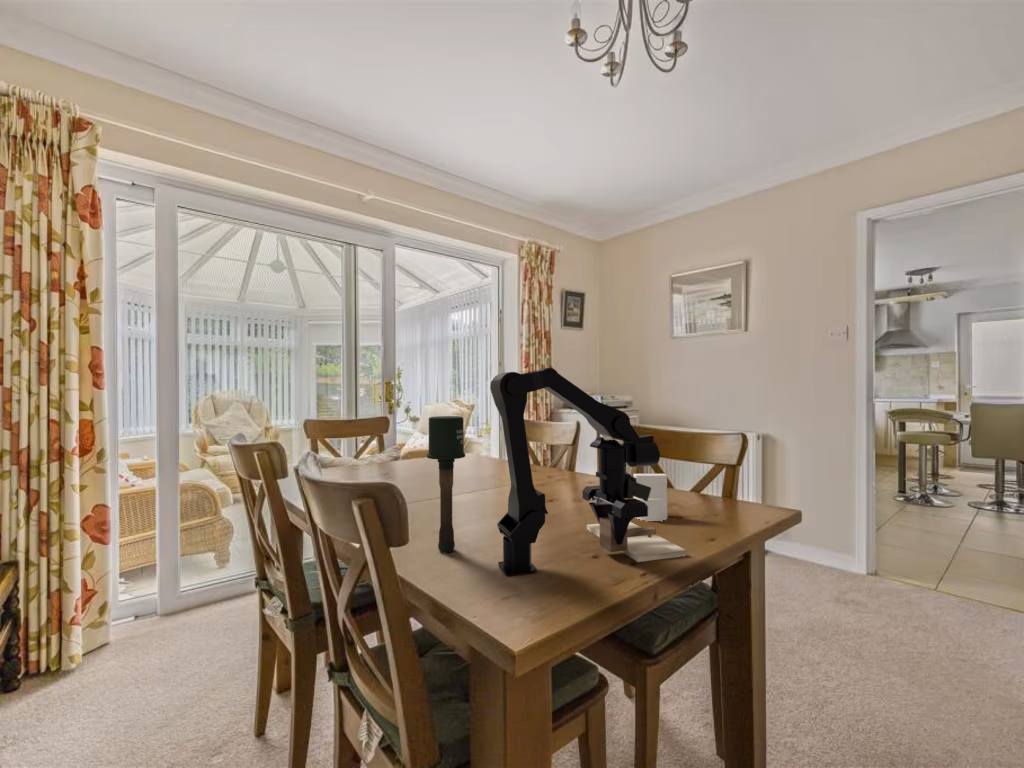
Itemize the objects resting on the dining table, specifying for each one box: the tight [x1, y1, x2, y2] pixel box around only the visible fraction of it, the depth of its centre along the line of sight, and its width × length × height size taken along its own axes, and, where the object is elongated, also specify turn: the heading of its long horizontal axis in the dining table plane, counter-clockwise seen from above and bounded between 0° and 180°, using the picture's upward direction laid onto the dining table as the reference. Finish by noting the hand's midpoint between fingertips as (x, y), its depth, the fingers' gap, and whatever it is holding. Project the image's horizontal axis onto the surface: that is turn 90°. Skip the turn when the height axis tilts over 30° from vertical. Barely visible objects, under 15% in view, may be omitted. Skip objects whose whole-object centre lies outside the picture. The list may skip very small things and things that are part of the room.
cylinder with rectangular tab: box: [633, 473, 668, 522], centre depth 131 cm, size 9×9×12 cm
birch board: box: [586, 521, 688, 563], centre depth 111 cm, size 24×12×1 cm, turn 17°
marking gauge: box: [599, 517, 657, 553], centre depth 102 cm, size 12×5×6 cm, turn 107°
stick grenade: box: [426, 415, 466, 553], centre depth 105 cm, size 8×9×30 cm
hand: (613, 540), depth 101 cm, fingers closed on marking gauge, 5 cm apart
